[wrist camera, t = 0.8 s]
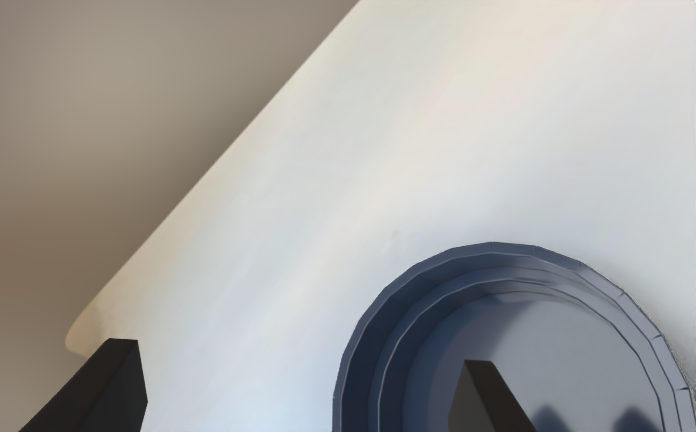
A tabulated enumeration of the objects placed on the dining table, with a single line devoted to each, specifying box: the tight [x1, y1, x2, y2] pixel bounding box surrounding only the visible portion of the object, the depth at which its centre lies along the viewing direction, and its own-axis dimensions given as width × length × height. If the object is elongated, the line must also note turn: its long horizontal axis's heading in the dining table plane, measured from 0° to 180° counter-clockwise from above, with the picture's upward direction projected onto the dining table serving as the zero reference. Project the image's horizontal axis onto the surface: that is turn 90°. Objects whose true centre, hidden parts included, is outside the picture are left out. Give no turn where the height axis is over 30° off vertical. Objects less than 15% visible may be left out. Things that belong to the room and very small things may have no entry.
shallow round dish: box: [332, 242, 696, 432], centre depth 23 cm, size 14×14×5 cm
